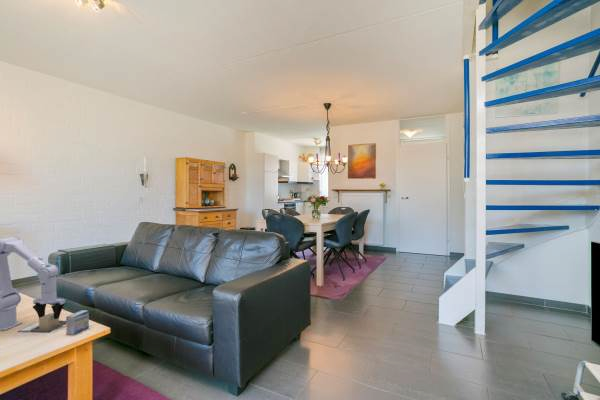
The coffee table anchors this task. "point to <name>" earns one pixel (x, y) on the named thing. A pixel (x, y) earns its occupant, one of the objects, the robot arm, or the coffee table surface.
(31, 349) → the coffee table surface
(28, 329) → the pad
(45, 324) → the box
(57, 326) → the grey square frame
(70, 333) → the medicine box
